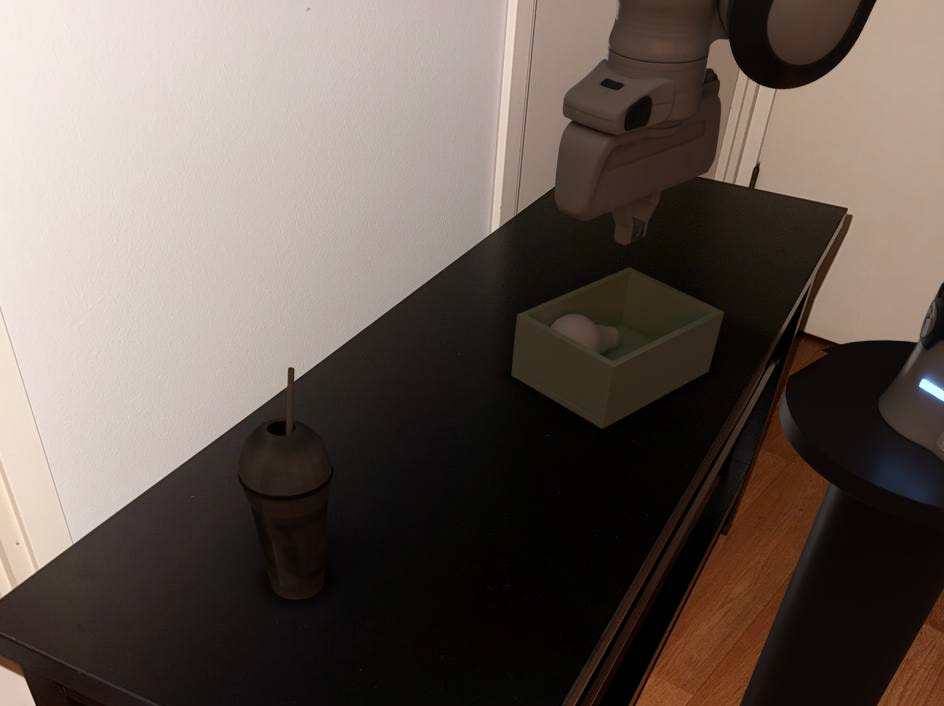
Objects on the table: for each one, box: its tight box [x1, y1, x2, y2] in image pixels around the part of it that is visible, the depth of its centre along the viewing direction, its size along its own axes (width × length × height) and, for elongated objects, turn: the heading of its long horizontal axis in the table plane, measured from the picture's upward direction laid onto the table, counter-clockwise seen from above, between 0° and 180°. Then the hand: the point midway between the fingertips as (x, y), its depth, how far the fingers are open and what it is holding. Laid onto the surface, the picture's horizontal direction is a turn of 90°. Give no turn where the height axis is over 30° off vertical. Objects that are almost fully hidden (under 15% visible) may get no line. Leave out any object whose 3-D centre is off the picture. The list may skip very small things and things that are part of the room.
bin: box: [511, 267, 725, 430], centre depth 104 cm, size 19×14×7 cm
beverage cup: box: [237, 366, 334, 601], centre depth 73 cm, size 7×7×20 cm
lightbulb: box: [550, 314, 619, 354], centre depth 105 cm, size 6×6×11 cm
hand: (629, 239), depth 94 cm, fingers closed
